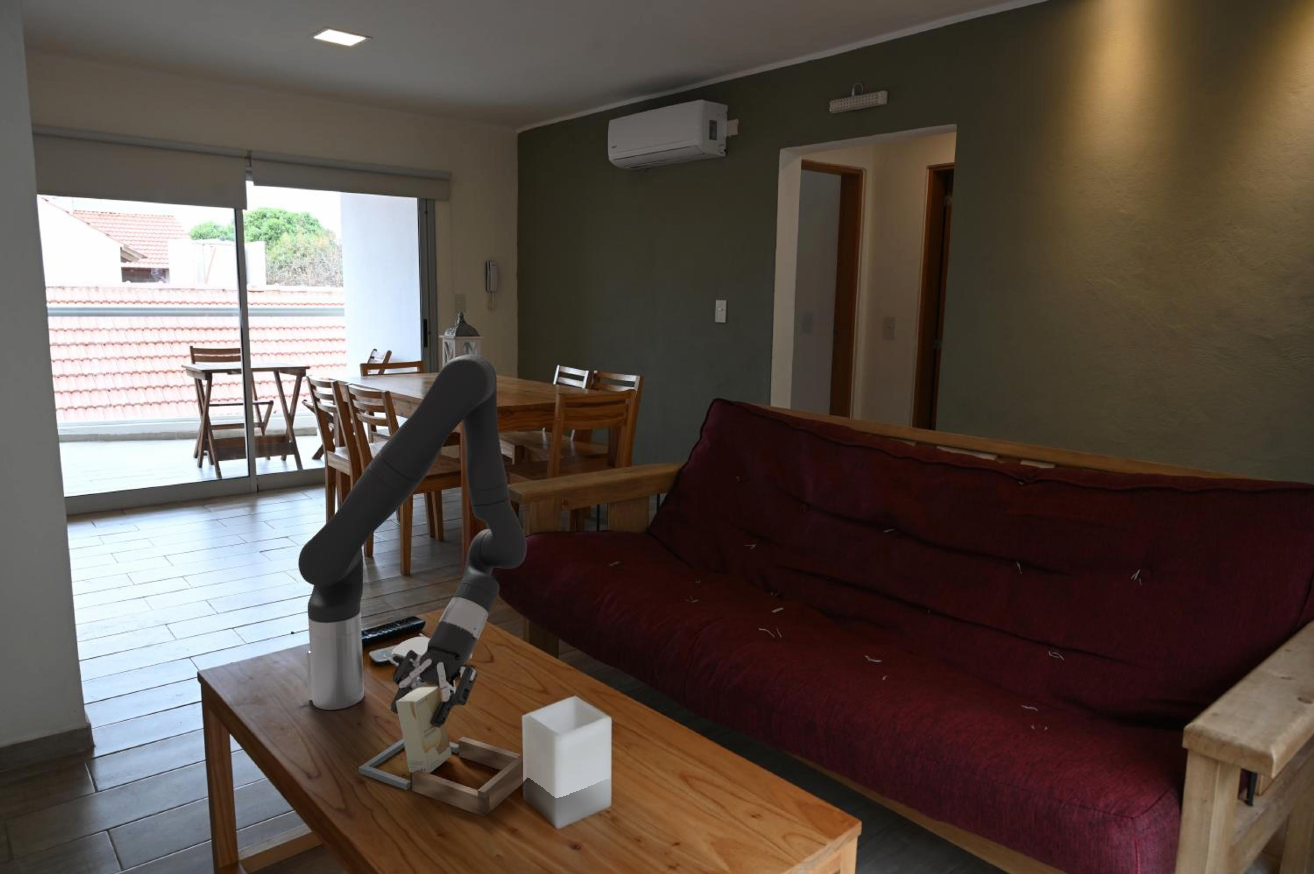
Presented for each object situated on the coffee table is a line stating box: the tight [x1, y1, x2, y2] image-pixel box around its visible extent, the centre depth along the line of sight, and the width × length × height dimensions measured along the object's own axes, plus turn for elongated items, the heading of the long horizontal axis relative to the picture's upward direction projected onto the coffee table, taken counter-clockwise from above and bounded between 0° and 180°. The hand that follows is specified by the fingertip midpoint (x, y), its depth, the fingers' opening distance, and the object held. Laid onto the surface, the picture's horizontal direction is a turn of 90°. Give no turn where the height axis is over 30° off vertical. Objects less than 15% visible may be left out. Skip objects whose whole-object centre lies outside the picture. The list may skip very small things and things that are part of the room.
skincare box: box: [396, 686, 453, 774], centre depth 138 cm, size 6×4×12 cm
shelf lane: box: [411, 736, 524, 817], centre depth 134 cm, size 14×12×4 cm
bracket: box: [358, 738, 459, 791], centre depth 140 cm, size 10×13×1 cm
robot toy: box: [382, 633, 473, 670], centre depth 174 cm, size 12×4×15 cm
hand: (414, 719), depth 138 cm, fingers open, 8 cm apart
